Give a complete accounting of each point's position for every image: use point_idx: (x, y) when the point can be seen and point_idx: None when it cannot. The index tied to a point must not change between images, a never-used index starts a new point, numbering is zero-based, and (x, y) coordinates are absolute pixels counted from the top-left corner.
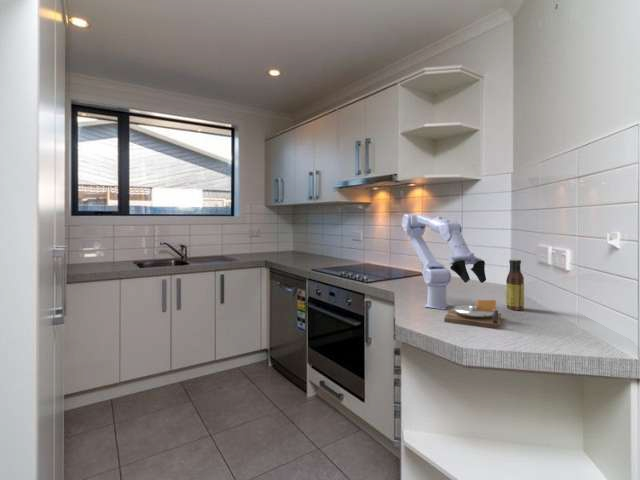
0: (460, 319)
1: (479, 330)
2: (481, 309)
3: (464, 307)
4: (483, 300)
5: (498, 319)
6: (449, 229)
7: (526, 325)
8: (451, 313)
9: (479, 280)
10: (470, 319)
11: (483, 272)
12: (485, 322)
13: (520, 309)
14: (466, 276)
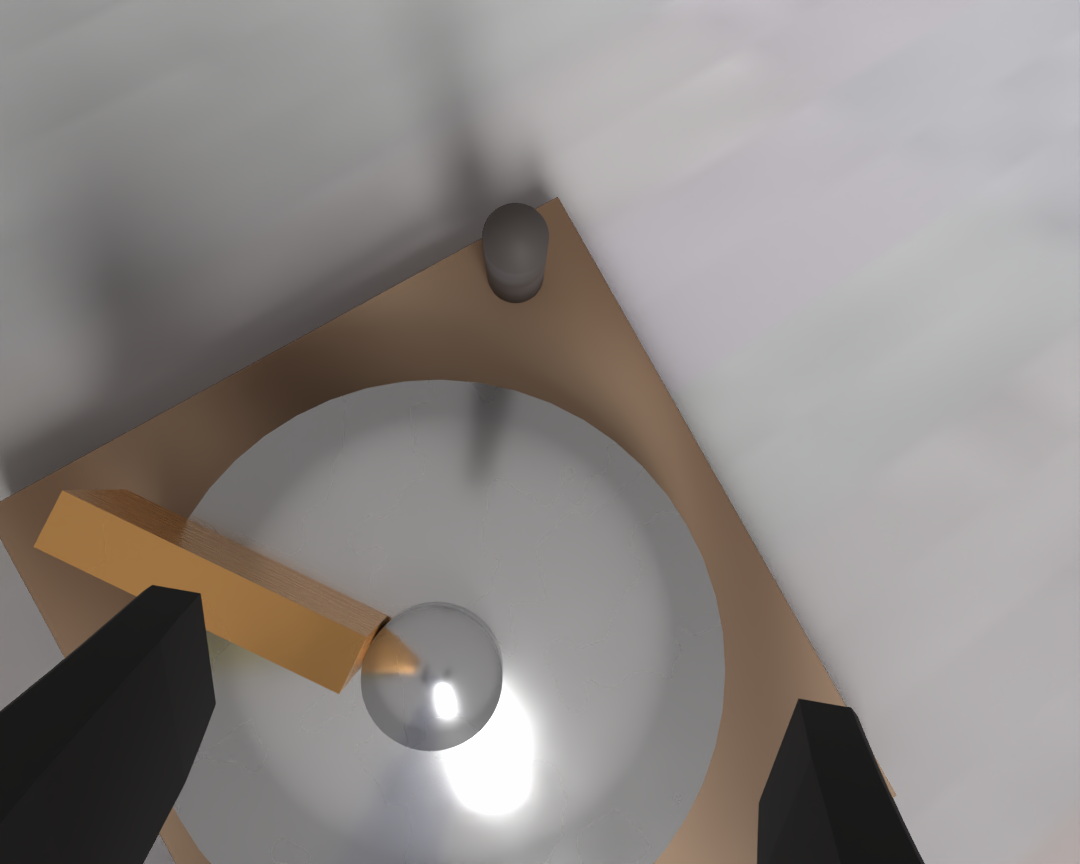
0: (786, 612)
1: (802, 311)
2: (338, 594)
3: (437, 832)
4: (250, 615)
5: (333, 339)
6: None
7: (97, 123)
8: None
9: (182, 784)
10: None
11: (29, 753)
12: (620, 348)
13: None
14: (887, 812)
